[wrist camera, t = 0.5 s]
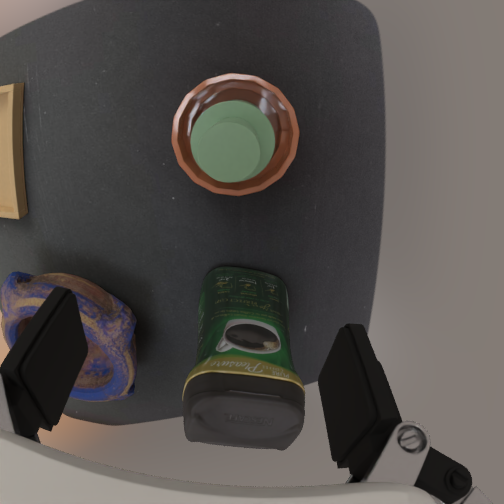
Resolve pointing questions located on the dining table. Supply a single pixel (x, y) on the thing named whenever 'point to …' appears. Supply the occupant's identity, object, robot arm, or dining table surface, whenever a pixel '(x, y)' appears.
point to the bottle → (232, 141)
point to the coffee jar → (243, 364)
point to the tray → (12, 152)
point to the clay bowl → (237, 89)
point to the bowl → (94, 324)
